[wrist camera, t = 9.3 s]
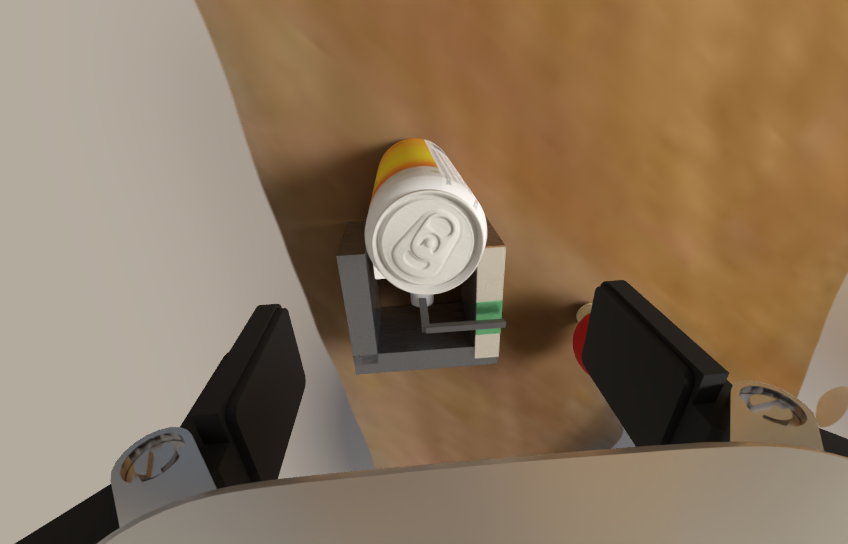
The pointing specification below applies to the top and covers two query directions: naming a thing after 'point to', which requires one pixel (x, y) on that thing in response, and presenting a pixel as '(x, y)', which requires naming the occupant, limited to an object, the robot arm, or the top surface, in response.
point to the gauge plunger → (426, 301)
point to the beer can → (423, 220)
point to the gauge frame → (401, 325)
